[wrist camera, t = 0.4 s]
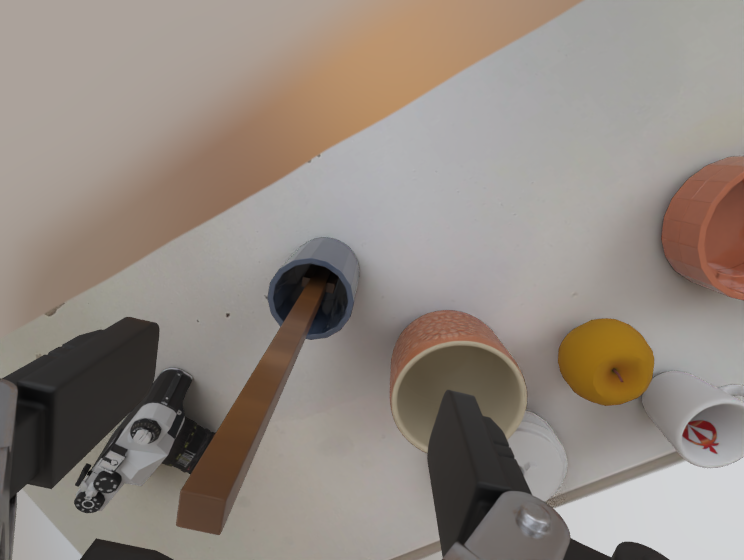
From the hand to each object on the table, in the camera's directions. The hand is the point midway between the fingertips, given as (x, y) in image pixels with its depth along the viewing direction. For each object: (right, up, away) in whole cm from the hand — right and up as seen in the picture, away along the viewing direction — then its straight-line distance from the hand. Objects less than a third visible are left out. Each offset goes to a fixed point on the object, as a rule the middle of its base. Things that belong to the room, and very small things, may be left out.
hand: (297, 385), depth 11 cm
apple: (+26, -4, +36) cm, 44 cm away
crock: (-3, +4, +34) cm, 35 cm away
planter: (+10, -5, +37) cm, 38 cm away
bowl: (+38, +9, +32) cm, 51 cm away
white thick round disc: (+18, -18, +40) cm, 48 cm away
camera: (-22, -15, +40) cm, 49 cm away
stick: (-3, +4, +34) cm, 34 cm away
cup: (+38, -10, +37) cm, 54 cm away
